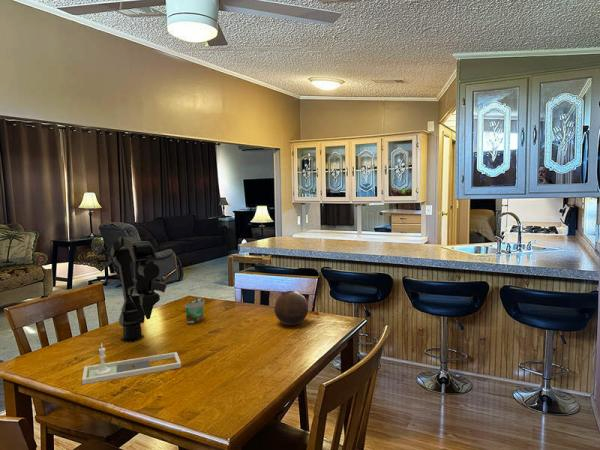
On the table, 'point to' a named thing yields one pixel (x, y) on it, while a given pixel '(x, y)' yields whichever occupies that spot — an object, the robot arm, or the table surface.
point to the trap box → (126, 367)
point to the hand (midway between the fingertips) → (144, 316)
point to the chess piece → (102, 364)
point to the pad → (92, 372)
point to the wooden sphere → (291, 308)
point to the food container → (194, 311)
